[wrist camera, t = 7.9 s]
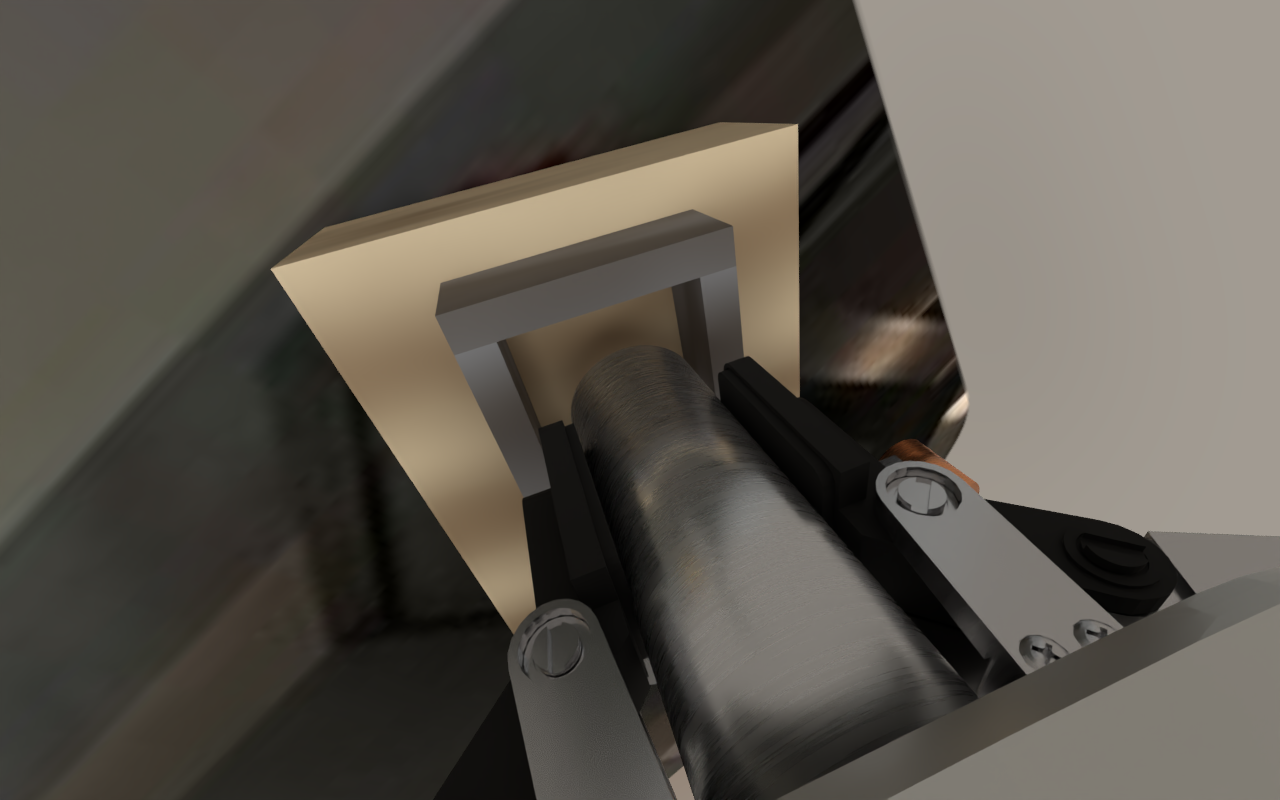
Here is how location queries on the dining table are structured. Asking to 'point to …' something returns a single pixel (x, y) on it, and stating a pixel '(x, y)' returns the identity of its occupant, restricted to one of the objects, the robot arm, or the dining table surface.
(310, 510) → the dining table surface
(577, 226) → the block
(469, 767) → the robot arm
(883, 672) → the key peg
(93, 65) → the dining table surface
